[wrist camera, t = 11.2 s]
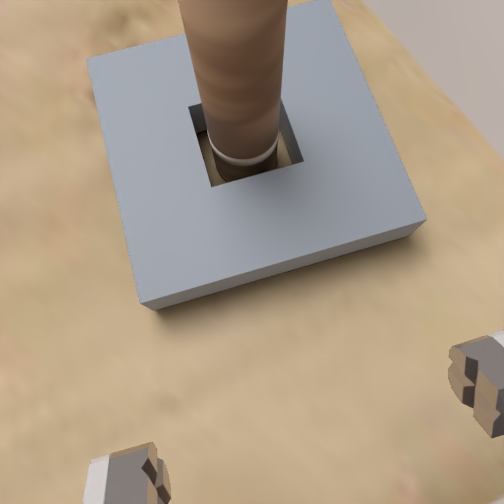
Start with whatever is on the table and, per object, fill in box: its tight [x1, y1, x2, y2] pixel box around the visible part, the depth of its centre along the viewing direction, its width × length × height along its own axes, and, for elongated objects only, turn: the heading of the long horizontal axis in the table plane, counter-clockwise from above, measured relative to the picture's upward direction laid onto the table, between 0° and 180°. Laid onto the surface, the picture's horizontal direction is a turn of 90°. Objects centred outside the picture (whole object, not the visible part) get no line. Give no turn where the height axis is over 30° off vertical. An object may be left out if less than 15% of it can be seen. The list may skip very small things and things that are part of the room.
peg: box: [178, 0, 288, 182], centre depth 17 cm, size 4×4×12 cm
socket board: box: [86, 0, 427, 310], centre depth 22 cm, size 14×14×2 cm
